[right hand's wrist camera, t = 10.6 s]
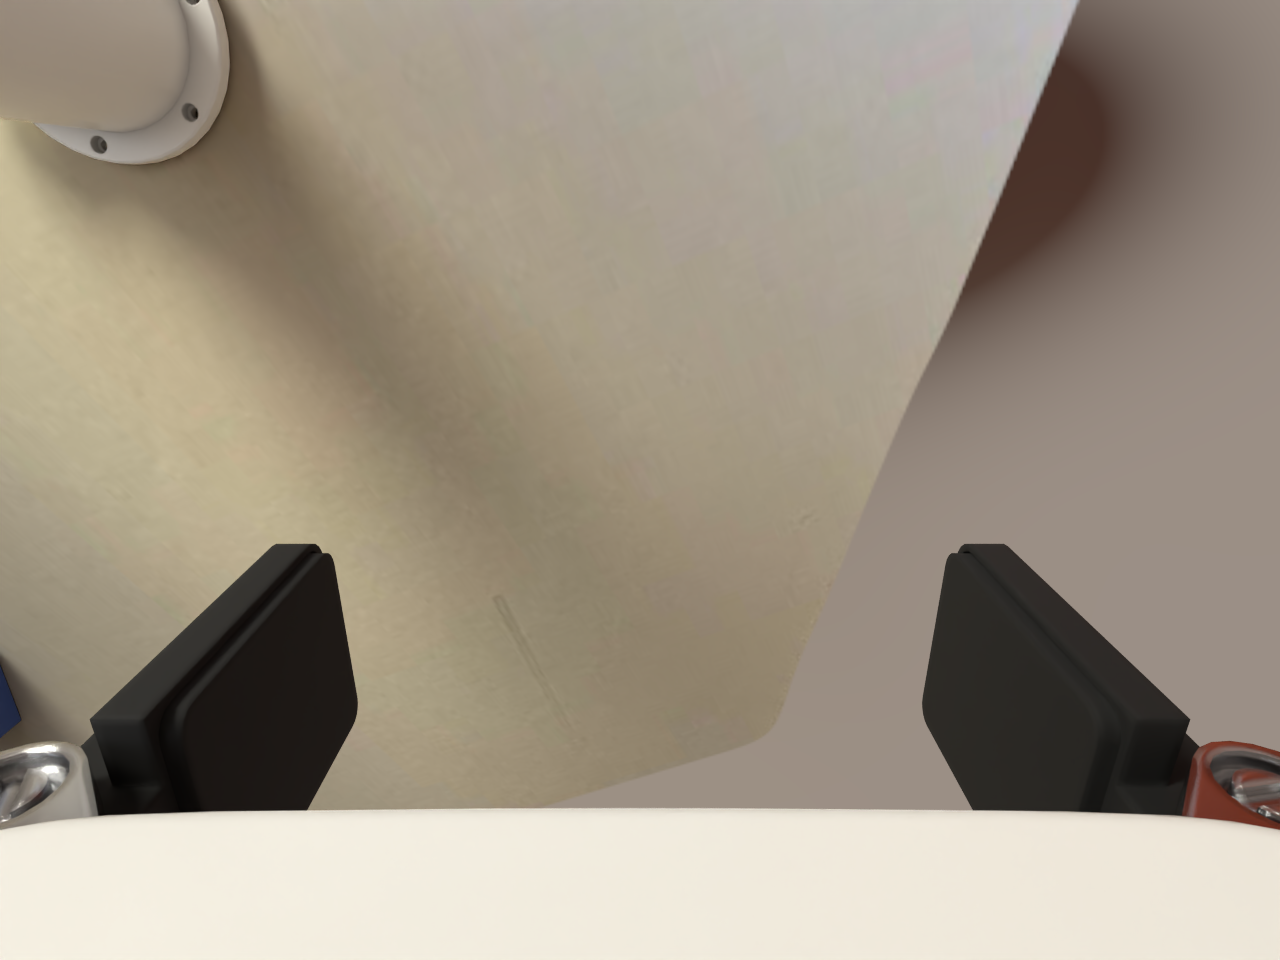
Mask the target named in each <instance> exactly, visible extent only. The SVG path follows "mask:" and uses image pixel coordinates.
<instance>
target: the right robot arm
mask: <svg viewBox="0 0 1280 960" xmlns="http://www.w3.org/2000/svg"><path fill="white" fill-rule="evenodd" d="M229 69H230V59H229V41H228V36H227V31H226V27H225V22H224V18H223V14H222V11H221V8H220V6H219V3H218V1H217V0H200V1H199V2H198V0H0V118H1V119H9V120H18V121H26V122H32V123H33V124H35V125H36V126H37V127H38V128H40V129H41V130H42V131H43V132H44V133H46V134H47V135H48V136H49V137H51V138H52V139H54V140H56V141H57V142H59V143H61V144H63V145H64V146H66V147H68V148H69V149H71V150H73V151H76V152H78V153H81V154H83V155H86V156H88V157H91V158H93V159H97V160H102V161H107V162H112V163H117V164H135V165H140V164H149V163H158V162H161V161H164V160H167V159H170V158H173V157H176V156H178V155H180V154H182V153H183V152H185V151H186V150H188V149H189V148H191V147H192V146H194V145H195V144H196V143H197V142H198V141H199V140H200V139H201V138H202V137H203V136H204V135H205V134H206V133H207V132H208V131H209V129H210V128H211V126H212V124H213V123H214V121H215V119H216V117H217V116H218V114H219V112H220V110H221V107H222V104H223V101H224V98H225V94H226V91H227V86H228V77H229ZM196 110H198V118H197V117H196V114H195V112H196ZM106 144H107V146H106ZM357 708H358V701H357V693H356V687H355V682H354V676H353V670H352V664H351V658H350V653H349V647H348V641H347V635H346V629H345V624H344V618H343V612H342V606H341V600H340V595H339V589H338V583H337V577H336V571H335V565H334V561H333V558H332V557H331V555H330V554H329V553H322V551H321V549H320V548H319V546H317V545H316V544H275V545H274V546H272V547H271V548H270V549H269V550H268V551H267V552H266V553H265V554H264V555H262V556H261V557H260V558H259V559H258V560H257V561H256V562H255V563H254V564H253V565H252V566H251V567H250V568H249V569H248V570H247V571H246V572H245V573H244V574H242V575H241V576H240V577H239V578H238V579H237V580H236V581H235V582H234V583H233V584H232V585H231V586H230V587H229V588H228V589H227V590H226V591H225V592H224V593H222V594H221V595H220V596H219V597H218V598H217V599H216V600H215V601H214V602H213V603H212V604H211V605H210V606H209V607H208V608H207V609H206V610H205V611H203V612H202V613H201V614H200V615H199V616H198V617H197V618H196V619H195V620H194V621H193V622H192V623H191V624H190V625H189V626H188V627H187V628H186V629H185V630H183V631H182V632H181V633H180V634H179V635H178V636H177V637H176V638H175V639H174V640H173V641H172V642H171V643H170V644H169V645H168V646H167V647H166V648H164V649H163V650H162V651H161V652H160V653H159V654H158V655H157V656H156V657H155V658H154V659H153V660H152V661H151V662H150V663H149V664H148V665H147V666H146V667H144V668H143V669H142V670H141V671H140V672H139V673H138V674H137V675H136V676H135V677H134V678H133V679H132V680H131V681H130V682H129V683H128V684H127V685H126V686H124V687H123V688H122V689H121V690H120V691H119V692H118V693H117V694H116V695H115V696H114V697H113V698H112V699H111V700H110V701H109V702H108V703H107V704H105V705H104V706H103V707H102V708H101V709H100V710H99V711H98V712H97V713H96V714H95V715H94V716H93V717H92V718H91V719H90V722H91V725H92V728H93V730H94V734H93V735H92V736H91V737H90V738H89V739H88V740H87V741H86V742H85V743H84V744H83V745H82V746H81V747H79V746H76V745H74V744H72V743H69V742H58V741H46V742H39V743H32V744H26V745H23V746H19V747H16V748H12V749H9V750H5V751H2V752H0V960H1280V752H1278V751H1275V750H1271V749H1268V748H1264V747H1261V746H1257V745H1254V744H1248V743H1241V742H1234V741H1222V742H1211V743H1208V744H1206V745H1204V746H1201V747H1199V746H1198V745H1197V744H1196V743H1195V742H1194V741H1193V740H1192V739H1191V738H1190V737H1189V736H1188V735H1187V734H1186V730H1187V727H1188V725H1189V722H1190V719H1189V718H1188V717H1187V716H1186V715H1185V714H1184V713H1183V712H1182V711H1181V710H1180V709H1179V708H1178V707H1177V706H1176V705H1174V704H1173V703H1172V702H1171V701H1170V700H1169V699H1168V698H1167V697H1166V696H1165V695H1164V694H1163V693H1162V692H1161V691H1160V690H1159V689H1158V688H1157V687H1156V686H1154V685H1153V684H1152V683H1151V682H1150V681H1149V680H1148V679H1147V678H1146V677H1145V676H1144V675H1143V674H1142V673H1141V672H1140V671H1139V670H1138V669H1137V668H1135V667H1134V666H1133V665H1132V664H1131V663H1130V662H1129V661H1128V660H1127V659H1126V658H1125V657H1124V656H1123V655H1122V654H1121V653H1120V652H1119V651H1118V650H1117V649H1115V648H1114V647H1113V646H1112V645H1111V644H1110V643H1109V642H1108V641H1107V640H1106V639H1105V638H1104V637H1103V636H1102V635H1101V634H1100V633H1099V632H1098V631H1096V630H1095V629H1094V628H1093V627H1092V626H1091V625H1090V624H1089V623H1088V622H1087V621H1086V620H1085V619H1084V618H1083V617H1082V616H1081V615H1080V614H1079V613H1078V612H1077V611H1075V610H1074V609H1073V608H1072V607H1071V606H1070V605H1069V604H1068V603H1067V602H1066V601H1065V600H1064V599H1063V598H1062V597H1061V596H1060V595H1059V594H1058V593H1056V592H1055V591H1054V590H1053V589H1052V588H1051V587H1050V586H1049V585H1048V584H1047V583H1046V582H1045V581H1044V580H1043V579H1042V578H1041V577H1040V576H1038V574H1036V573H1035V572H1034V571H1033V570H1032V569H1031V568H1030V567H1029V566H1028V565H1027V564H1026V563H1025V562H1024V561H1023V560H1022V559H1021V558H1020V557H1019V556H1018V555H1016V554H1015V553H1014V552H1013V551H1012V550H1011V549H1010V548H1009V547H1008V546H1006V545H1005V544H964V545H963V546H961V548H960V549H959V551H958V553H951V554H950V555H949V557H948V558H947V561H946V565H945V571H944V577H943V583H942V589H941V595H940V600H939V606H938V612H937V618H936V624H935V629H934V635H933V641H932V647H931V653H930V659H929V664H928V670H927V676H926V682H925V687H924V693H923V701H922V708H923V715H924V719H925V722H926V724H927V726H928V728H929V730H930V732H931V734H932V736H933V737H934V739H935V741H936V743H937V745H938V747H939V749H940V750H941V752H942V754H943V756H944V758H945V759H946V761H947V763H948V765H949V767H950V769H951V771H952V772H953V774H954V776H955V778H956V780H957V782H958V784H959V785H960V787H961V789H962V791H963V793H964V795H965V796H966V798H967V800H968V802H969V804H970V806H971V807H972V809H973V810H866V809H756V808H755V809H753V808H493V809H406V810H314V811H307V809H308V807H309V806H310V804H311V802H312V800H313V798H314V796H315V795H316V793H317V791H318V789H319V787H320V785H321V784H322V782H323V780H324V778H325V776H326V774H327V772H328V771H329V769H330V767H331V765H332V763H333V761H334V760H335V758H336V756H337V754H338V752H339V750H340V749H341V747H342V745H343V743H344V741H345V739H346V738H347V736H348V734H349V732H350V730H351V728H352V726H353V724H354V722H355V719H356V715H357Z"/></svg>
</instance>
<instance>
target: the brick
mask: <svg viewBox="0 0 1280 960" xmlns="http://www.w3.org/2000/svg"><path fill="white" fill-rule="evenodd" d="M20 721H21V718H20V715H19V713H18V710H17V708H16V705H15V702H14V700H13V697H12V695H11V692H10V689H9V687H8V684H7V682H6V679H5V676H4V674H3V671H2V669H1V666H0V738H1V737H2V736H3V735H4V734H5V733H7V732H8V731H9V730H10V729H11V728H13V727H14V726H15V725H16V724H17V723H18V722H20Z"/></svg>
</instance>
